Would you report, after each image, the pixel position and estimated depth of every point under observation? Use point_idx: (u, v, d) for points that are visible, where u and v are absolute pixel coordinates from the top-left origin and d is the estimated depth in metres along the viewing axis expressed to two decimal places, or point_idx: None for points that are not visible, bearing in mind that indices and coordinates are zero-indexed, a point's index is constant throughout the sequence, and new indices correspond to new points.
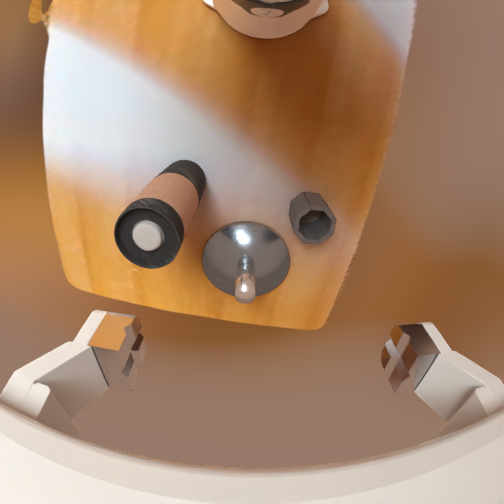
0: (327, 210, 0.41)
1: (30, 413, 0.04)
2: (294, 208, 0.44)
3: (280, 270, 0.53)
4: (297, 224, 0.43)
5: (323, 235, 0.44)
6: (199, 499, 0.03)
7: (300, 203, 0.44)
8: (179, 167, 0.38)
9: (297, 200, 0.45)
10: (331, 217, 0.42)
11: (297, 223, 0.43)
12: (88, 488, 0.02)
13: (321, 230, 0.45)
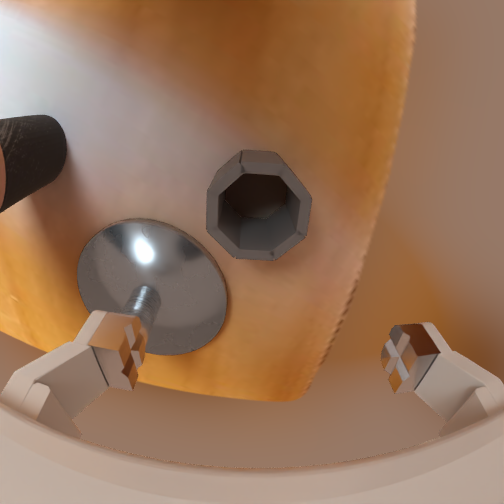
0: (287, 173, 0.16)
1: (30, 413, 0.04)
2: (214, 179, 0.19)
3: (210, 313, 0.27)
4: (213, 211, 0.17)
5: (283, 238, 0.19)
6: (199, 499, 0.03)
7: (227, 167, 0.19)
8: None
9: (226, 165, 0.20)
10: (299, 192, 0.17)
11: (213, 209, 0.17)
12: (88, 488, 0.02)
13: (280, 229, 0.20)
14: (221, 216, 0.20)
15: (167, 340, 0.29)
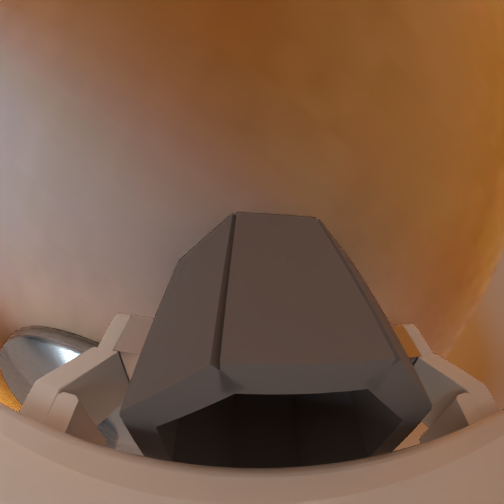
0: (395, 380, 0.04)
1: (58, 425, 0.04)
2: (155, 322, 0.07)
3: None
4: (152, 445, 0.05)
5: (334, 459, 0.06)
6: (199, 499, 0.03)
7: (187, 293, 0.06)
8: None
9: (191, 263, 0.08)
10: (408, 408, 0.04)
11: (151, 443, 0.05)
12: (88, 488, 0.02)
13: (325, 417, 0.07)
14: None
15: None
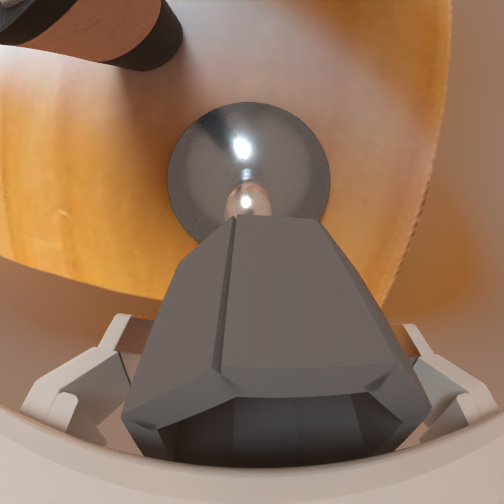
0: (396, 383, 0.04)
1: (58, 425, 0.04)
2: (155, 325, 0.07)
3: (313, 200, 0.28)
4: (153, 447, 0.05)
5: (334, 460, 0.06)
6: (199, 499, 0.03)
7: (187, 296, 0.06)
8: None
9: (192, 266, 0.08)
10: (408, 411, 0.04)
11: (152, 445, 0.05)
12: (88, 488, 0.02)
13: (325, 419, 0.07)
14: None
15: None
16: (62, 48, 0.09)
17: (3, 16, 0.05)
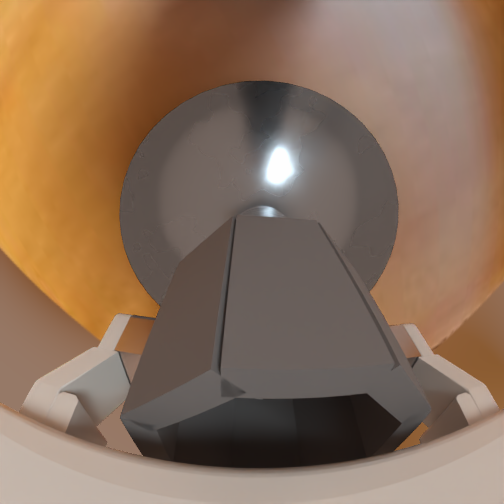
0: (394, 384, 0.04)
1: (58, 425, 0.04)
2: (155, 325, 0.07)
3: None
4: (152, 447, 0.05)
5: (333, 461, 0.06)
6: (199, 499, 0.03)
7: (187, 297, 0.06)
8: None
9: (191, 266, 0.08)
10: (407, 411, 0.04)
11: (151, 446, 0.05)
12: (88, 488, 0.02)
13: (324, 419, 0.07)
14: None
15: None
16: None
17: None
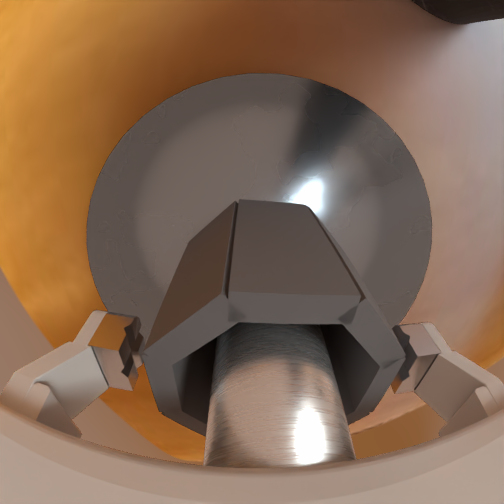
0: (364, 317, 0.05)
1: (30, 413, 0.04)
2: (171, 286, 0.08)
3: None
4: (166, 390, 0.06)
5: None
6: (199, 499, 0.03)
7: (199, 260, 0.08)
8: None
9: (201, 241, 0.09)
10: (382, 352, 0.06)
11: (165, 387, 0.06)
12: (88, 488, 0.02)
13: None
14: (194, 359, 0.09)
15: None
16: None
17: None
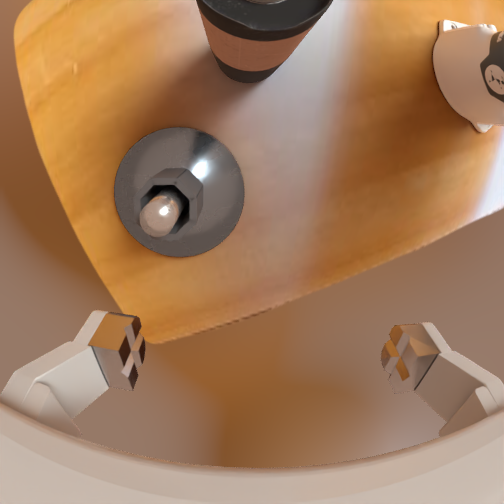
0: (178, 183, 0.26)
1: (30, 413, 0.04)
2: None
3: (196, 244, 0.35)
4: (138, 209, 0.26)
5: (183, 225, 0.28)
6: (199, 499, 0.03)
7: None
8: None
9: None
10: (187, 194, 0.26)
11: (137, 208, 0.26)
12: (88, 488, 0.02)
13: (185, 220, 0.29)
14: None
15: None
16: (206, 29, 0.14)
17: None
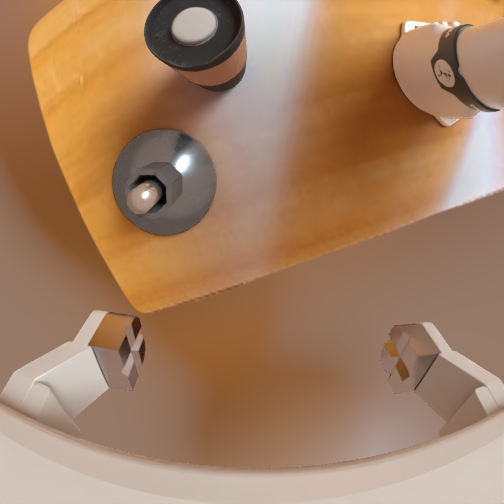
0: (158, 173, 0.32)
1: (30, 413, 0.04)
2: None
3: (177, 224, 0.42)
4: (127, 194, 0.33)
5: (162, 207, 0.35)
6: (199, 499, 0.03)
7: None
8: None
9: None
10: (164, 182, 0.33)
11: (127, 193, 0.33)
12: (88, 488, 0.02)
13: None
14: None
15: None
16: None
17: (164, 31, 0.16)
